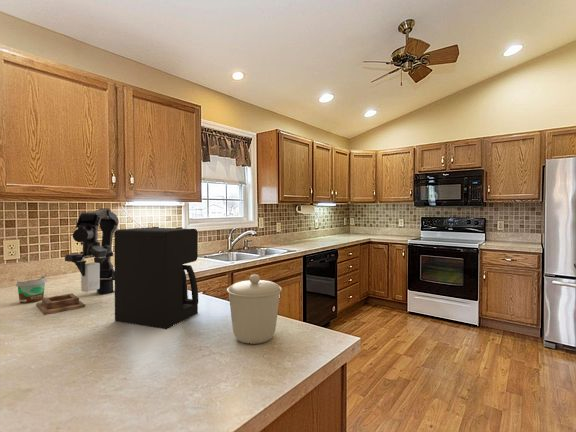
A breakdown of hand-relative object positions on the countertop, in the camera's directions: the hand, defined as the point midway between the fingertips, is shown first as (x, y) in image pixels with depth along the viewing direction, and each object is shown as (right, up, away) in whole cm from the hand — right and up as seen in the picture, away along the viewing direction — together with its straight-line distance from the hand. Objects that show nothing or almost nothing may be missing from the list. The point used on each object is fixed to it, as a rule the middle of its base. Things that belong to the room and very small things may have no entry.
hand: (90, 274), depth 140 cm
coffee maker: (+40, -14, -18) cm, 45 cm away
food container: (-28, -13, +4) cm, 31 cm away
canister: (+78, -14, -37) cm, 87 cm away
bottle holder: (-10, -13, -4) cm, 17 cm away
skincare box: (0, -7, 0) cm, 7 cm away
